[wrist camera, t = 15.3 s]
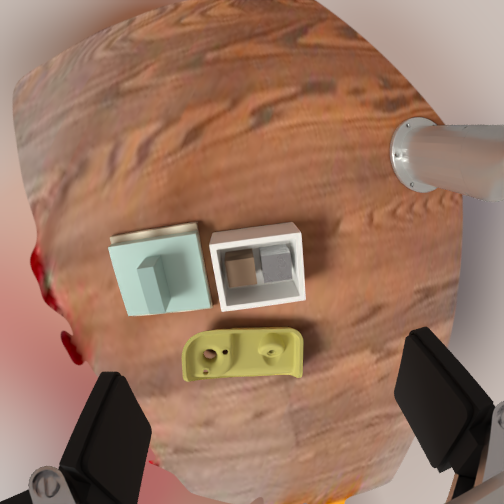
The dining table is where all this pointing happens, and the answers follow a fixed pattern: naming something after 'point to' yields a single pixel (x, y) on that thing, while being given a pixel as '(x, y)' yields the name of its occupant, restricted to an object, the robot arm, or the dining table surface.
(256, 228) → the tub
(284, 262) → the steel block
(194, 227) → the board
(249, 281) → the walnut block
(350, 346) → the dining table surface
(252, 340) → the plastic component
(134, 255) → the lid
